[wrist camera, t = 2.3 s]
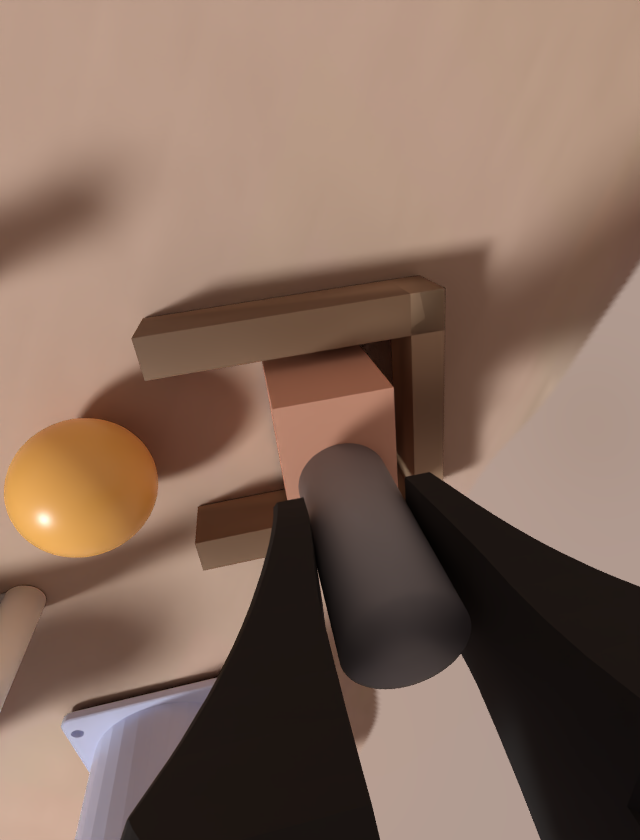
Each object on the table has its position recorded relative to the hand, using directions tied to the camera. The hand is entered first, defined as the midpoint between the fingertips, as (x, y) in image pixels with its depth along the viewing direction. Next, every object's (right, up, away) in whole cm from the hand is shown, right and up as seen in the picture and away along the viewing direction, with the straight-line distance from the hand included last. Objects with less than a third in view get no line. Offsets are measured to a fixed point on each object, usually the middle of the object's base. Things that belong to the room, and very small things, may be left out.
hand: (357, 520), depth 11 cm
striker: (-1, +3, +5) cm, 6 cm away
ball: (-8, 0, +3) cm, 8 cm away
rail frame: (-2, +2, +5) cm, 6 cm away
